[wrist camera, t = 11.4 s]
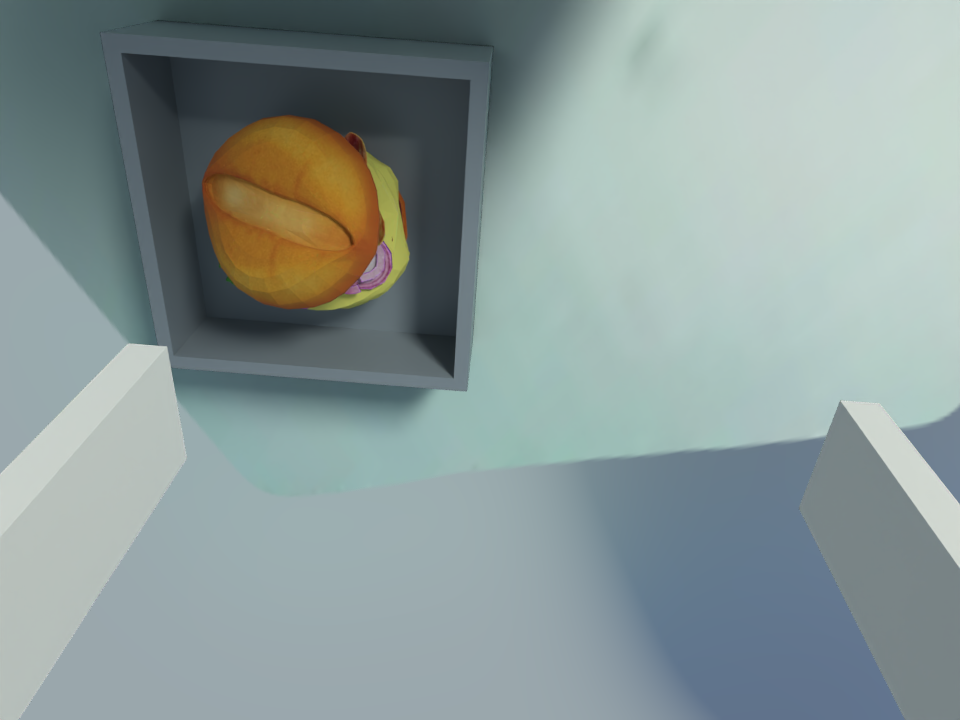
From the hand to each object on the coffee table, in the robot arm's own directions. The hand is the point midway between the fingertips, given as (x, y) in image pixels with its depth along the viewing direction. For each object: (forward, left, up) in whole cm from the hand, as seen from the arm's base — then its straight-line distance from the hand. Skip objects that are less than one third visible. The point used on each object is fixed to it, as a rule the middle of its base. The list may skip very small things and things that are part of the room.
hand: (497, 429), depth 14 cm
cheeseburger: (+5, -10, -28) cm, 30 cm away
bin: (+5, -10, -29) cm, 31 cm away
